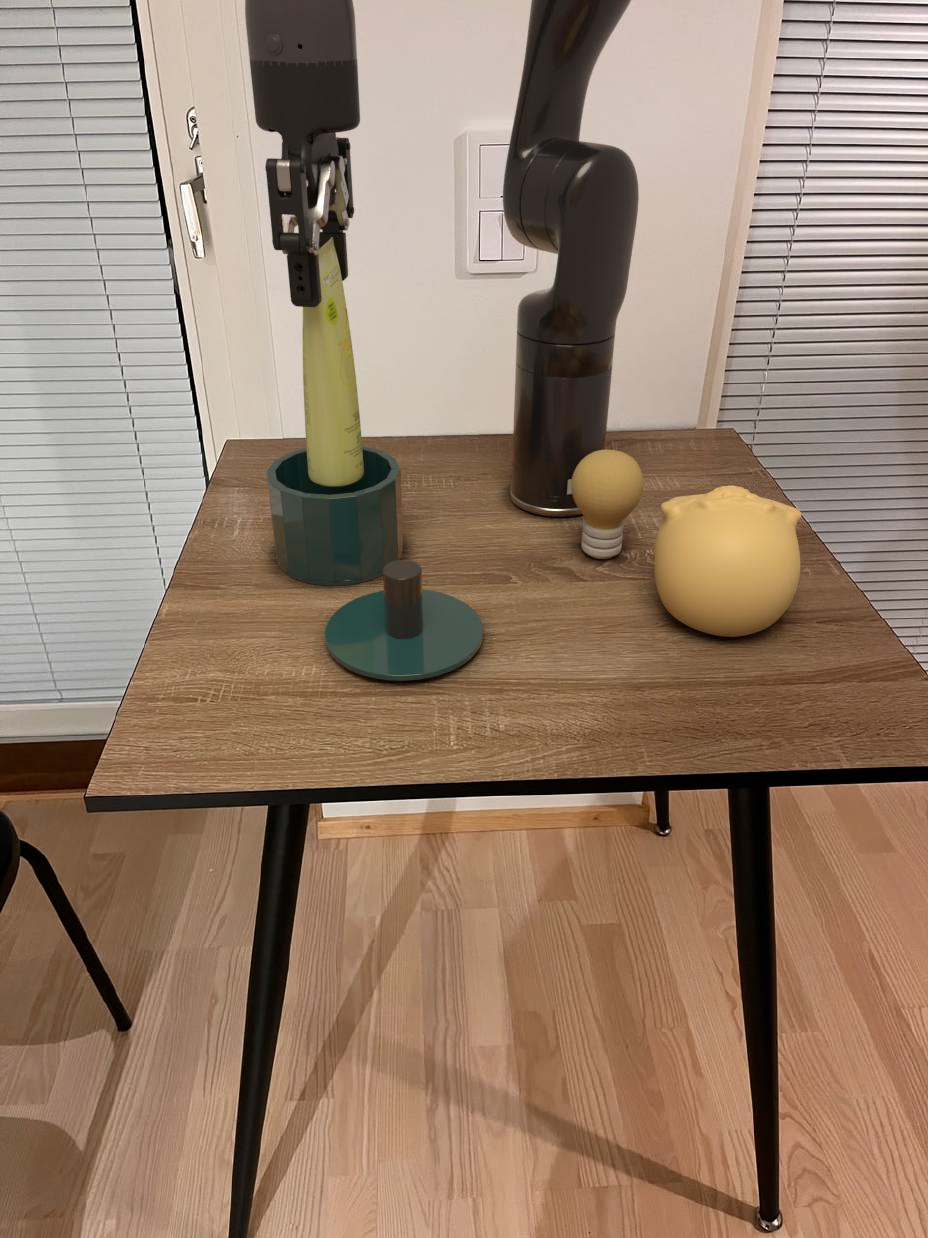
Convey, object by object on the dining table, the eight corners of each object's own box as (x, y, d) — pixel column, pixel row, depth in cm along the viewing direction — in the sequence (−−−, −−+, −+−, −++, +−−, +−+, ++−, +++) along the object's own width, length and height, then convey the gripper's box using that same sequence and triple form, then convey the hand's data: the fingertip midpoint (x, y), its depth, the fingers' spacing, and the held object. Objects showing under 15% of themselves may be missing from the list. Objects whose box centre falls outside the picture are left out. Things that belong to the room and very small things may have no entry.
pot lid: (348, 593, 83) (343, 525, 79) (492, 605, 81) (493, 537, 78) (306, 678, 72) (298, 605, 69) (470, 695, 71) (471, 620, 67)
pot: (297, 521, 94) (289, 440, 90) (413, 529, 93) (410, 447, 88) (259, 580, 85) (248, 493, 80) (387, 590, 83) (383, 502, 79)
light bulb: (641, 542, 91) (652, 444, 85) (628, 574, 86) (639, 472, 80) (575, 532, 93) (582, 434, 87) (559, 563, 88) (565, 461, 82)
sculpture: (774, 580, 85) (798, 468, 79) (800, 658, 75) (829, 536, 69) (644, 573, 86) (658, 462, 80) (652, 648, 76) (669, 527, 70)
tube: (378, 482, 84) (366, 249, 73) (326, 496, 82) (306, 257, 71) (348, 460, 88) (332, 236, 77) (297, 473, 86) (274, 243, 75)
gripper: (328, 59, 61) (344, 319, 70) (378, 49, 73) (386, 272, 81) (215, 57, 62) (245, 314, 71) (282, 48, 73) (301, 269, 82)
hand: (321, 291), depth 76 cm, fingers closed on tube, 7 cm apart
